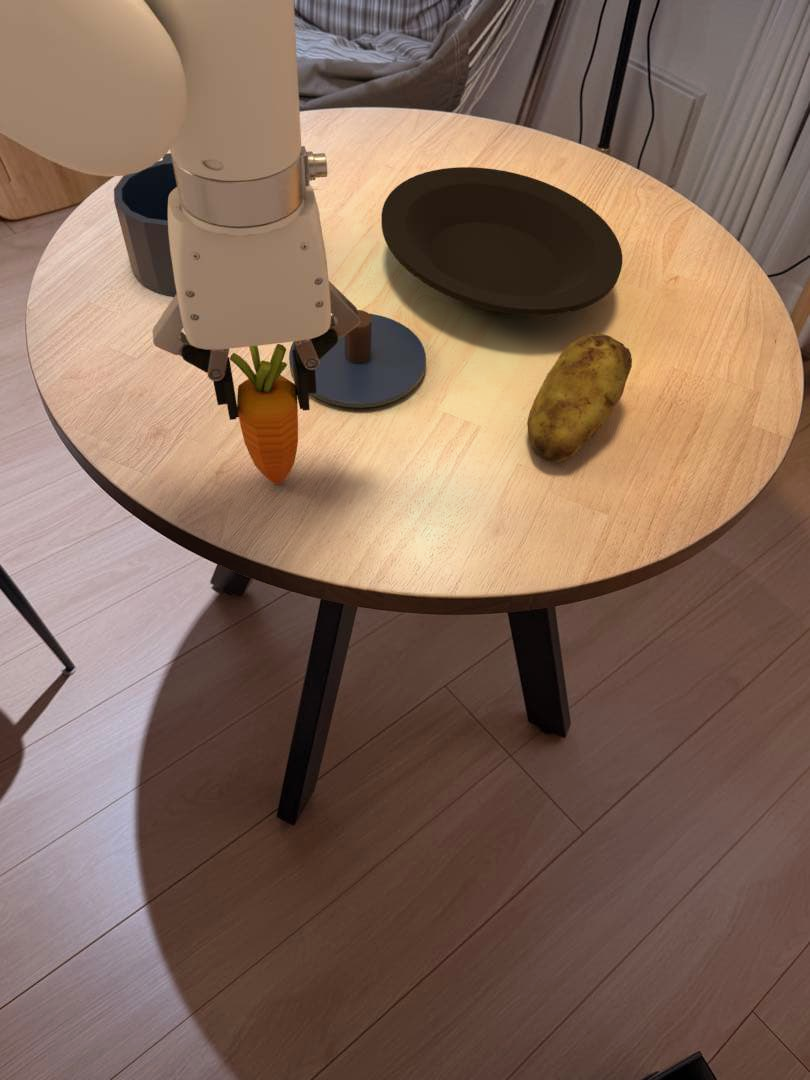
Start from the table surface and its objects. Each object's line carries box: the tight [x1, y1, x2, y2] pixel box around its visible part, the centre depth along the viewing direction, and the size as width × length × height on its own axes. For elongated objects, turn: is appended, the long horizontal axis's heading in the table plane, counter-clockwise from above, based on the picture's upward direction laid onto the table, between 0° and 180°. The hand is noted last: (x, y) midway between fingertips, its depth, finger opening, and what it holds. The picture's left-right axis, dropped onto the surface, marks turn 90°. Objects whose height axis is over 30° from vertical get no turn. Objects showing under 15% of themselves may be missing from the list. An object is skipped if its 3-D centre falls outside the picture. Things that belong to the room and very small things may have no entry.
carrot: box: [229, 343, 299, 485], centre depth 63 cm, size 5×5×15 cm
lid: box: [288, 309, 427, 409], centre depth 77 cm, size 14×14×6 cm
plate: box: [380, 166, 623, 316], centre depth 87 cm, size 28×24×6 cm
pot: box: [113, 152, 177, 298], centre depth 85 cm, size 13×18×8 cm
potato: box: [526, 333, 633, 463], centre depth 72 cm, size 8×13×8 cm, turn 131°
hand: (267, 401), depth 62 cm, fingers closed on carrot, 4 cm apart
